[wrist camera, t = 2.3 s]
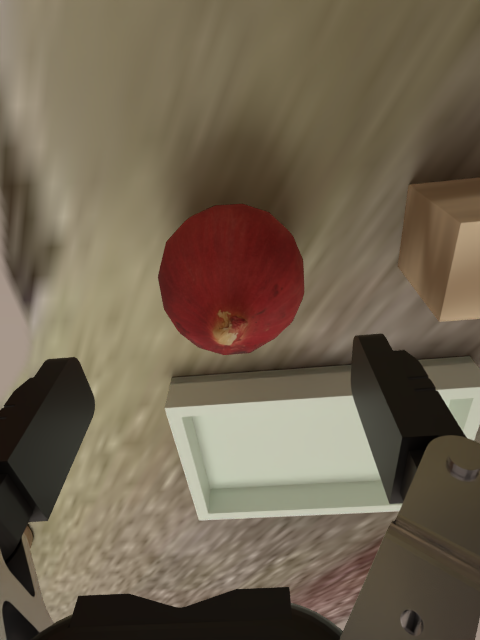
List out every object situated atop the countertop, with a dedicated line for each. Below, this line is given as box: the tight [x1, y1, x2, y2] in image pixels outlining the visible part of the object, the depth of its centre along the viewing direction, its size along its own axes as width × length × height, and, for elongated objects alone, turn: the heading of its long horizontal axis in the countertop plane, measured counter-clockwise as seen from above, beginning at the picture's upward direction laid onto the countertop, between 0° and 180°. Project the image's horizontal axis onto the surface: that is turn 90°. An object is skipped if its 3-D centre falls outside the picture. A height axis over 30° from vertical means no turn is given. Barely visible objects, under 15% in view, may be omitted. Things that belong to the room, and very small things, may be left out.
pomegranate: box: [158, 204, 304, 355], centre depth 15 cm, size 6×6×8 cm
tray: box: [165, 356, 480, 520], centre depth 25 cm, size 12×18×2 cm, turn 96°
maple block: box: [398, 177, 480, 322], centre depth 16 cm, size 4×4×5 cm
